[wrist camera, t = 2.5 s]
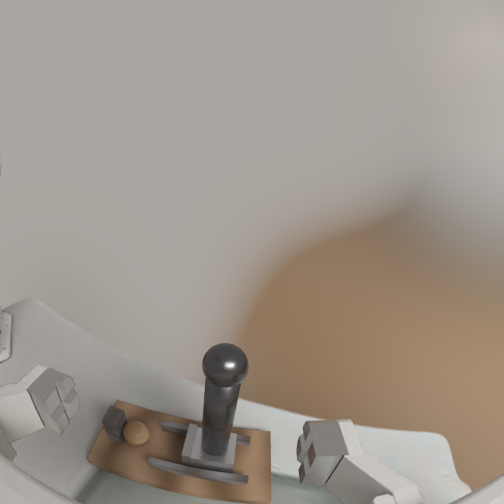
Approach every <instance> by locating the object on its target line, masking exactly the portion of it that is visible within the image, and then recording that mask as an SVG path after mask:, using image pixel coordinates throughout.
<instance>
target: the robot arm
mask: <svg viewBox="0 0 504 504" xmlns="http://www.w3.org/2000/svg"><path fill="white" fill-rule="evenodd" d="M0 174H1V155H0ZM11 333H12V316H11V315H10V314H8V313H6V312H2V311H1V308H0V362H1V361H4V360H6V359H8V358H9V357H10V356H11ZM74 386H75V383H74V380H73V378H72V377H70V376H68V375H65V374H63V373H61V372H59V371H56V370H54V369H52V368H50V367H48V366H46V365H43V364H38V365H37V366H36V367H34V368H33V369H32V370H31V371H30V372H29V373H28V374H27V375H26V376H25V377H24V378H23V379H22V380H21V381H19V382H18V383H17V384H15V383H12V384H8V385H4V386H0V504H82V503H80V502H78V501H76V500H74V499H72V498H70V497H68V496H66V495H64V494H62V493H60V492H58V491H56V490H55V489H53V488H51V487H49V486H48V485H46V484H44V483H43V482H41V481H39V480H38V479H36V478H35V477H33V476H32V475H30V474H29V473H27V472H26V471H24V470H23V469H21V468H20V467H18V466H17V465H15V464H14V463H13V462H12V461H13V459H14V458H15V457H16V455H17V454H16V451H15V450H14V448H13V447H12V445H11V444H10V443H12V442H14V441H16V440H19V439H21V438H23V437H25V436H27V435H29V434H31V433H33V432H35V431H38V430H40V429H42V428H44V426H45V427H47V428H49V429H51V430H54V431H56V432H58V433H60V434H62V433H63V432H64V430H65V429H66V427H67V426H68V425H69V418H70V417H73V416H75V415H76V413H77V412H78V409H79V405H80V401H79V396H78V394H77V392H76V391H75V390H74V389H73V388H74ZM303 432H304V433H303V434H302V435H300V437H299V439H298V443H297V460H298V461H299V462H300V463H301V466H300V468H299V477H300V484H301V485H309V484H325V485H326V486H327V487H328V488H329V489H330V490H331V492H332V493H333V494H334V495H335V496H336V497H337V498H338V499H339V500H340V501H341V502H342V503H343V504H424V502H423V499H422V497H421V495H420V492H419V490H418V488H417V486H416V485H415V484H414V483H412V482H410V481H409V480H407V479H406V478H404V477H403V476H401V475H400V474H398V473H397V472H395V471H393V470H392V469H391V468H389V467H388V466H386V465H385V464H383V463H382V462H380V461H379V460H377V459H376V458H375V457H373V456H372V455H370V454H369V453H364V452H363V449H362V447H361V444H360V441H359V439H358V436H357V433H356V431H355V428H354V425H353V423H352V421H351V420H350V419H345V420H322V421H306V422H305V424H304V426H303ZM449 504H504V474H502V475H500V476H497V477H496V478H494V479H493V480H491V481H489V482H488V483H486V484H485V485H483V486H481V487H479V488H478V489H476V490H474V491H472V492H471V493H469V494H467V495H465V496H463V497H461V498H459V499H457V500H455V501H453V502H451V503H449Z"/></svg>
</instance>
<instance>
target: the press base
mask: <svg viewBox="0 0 504 504" xmlns="http://www.w3.org/2000/svg"><path fill="white" fill-rule="evenodd" d="M102 423H103V428H102V429H101V431H100V433H99V435H98V437H97V439H96V441H95V443H94V445H93V447H92V449H91V451H90V453H89V455H88V457H87V460H88V461H89V463H90V464H92V465H94V466H97V467H99V468H102V469H104V470H106V471H109V472H112V473H114V474H117V475H119V476H122V477H125V478H128V479H131V480H134V481H137V482H140V483H143V484H147V485H150V486H153V487H157V488H161V489H164V490H168V491H173V492H177V493H181V494H186V495H191V496H196V497H202V498H207V499H214V500H221V501H229V502H239V503H251V504H269V503H270V502H271V445H270V431H260V430H250V429H242V428H234V427H232V430H231V433H237V437H236V447H235V457H234V466H233V469H232V473H224V472H217V471H210V470H205V469H199V468H194V467H189V466H184V465H182V456H181V455H182V451H183V447H184V443H185V439H186V435H187V431H188V428H189V424H190V423H191V424H196V425H197V427H199V428H202V422H198V421H193V420H188V419H183V418H179V417H175V416H170V415H166V414H162V413H159V412H155V411H151V410H148V409H144V408H141V407H137V406H134V405H131V404H128V403H125V402H122V401H119V400H117V401H116V403H115V405H114V407H113V406H110V407H109V409H108V411H107V413H106V414H105V416H104V418H103V420H102Z"/></svg>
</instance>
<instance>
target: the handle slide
mask: <svg viewBox="0 0 504 504" xmlns="http://www.w3.org/2000/svg"><path fill="white" fill-rule="evenodd" d="M248 367H249V365H248V359H247V357H246V355H245V353H244V352H243V351H242V350H241V349H240V348H239V347H237V346H235V345H233V344H229V343H222V344H218V345H215V346H213V347H211V348H210V349H209V350H208V351H207V352H206V354H205V356H204V358H203V362H202V368H203V372H204V375H205V376H206V381H205V394H204V407H203V422H202V428H199V427H197V425H196V424H191V423H190V424H189V428H188V431H187V435H186V439H185V443H184V447H183V451H182V455H181V456H182V465H184V466H189V467H194V468H199V469H205V470H210V471H217V472H224V473H232V469H233V466H234V457H235V447H236V437H237V433H231V430H232V425H233V420H234V415H235V410H236V405H237V400H238V395H239V390H240V385H241V382H242V381H243V380H244V378H245V377H246V375H247V373H248Z"/></svg>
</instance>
